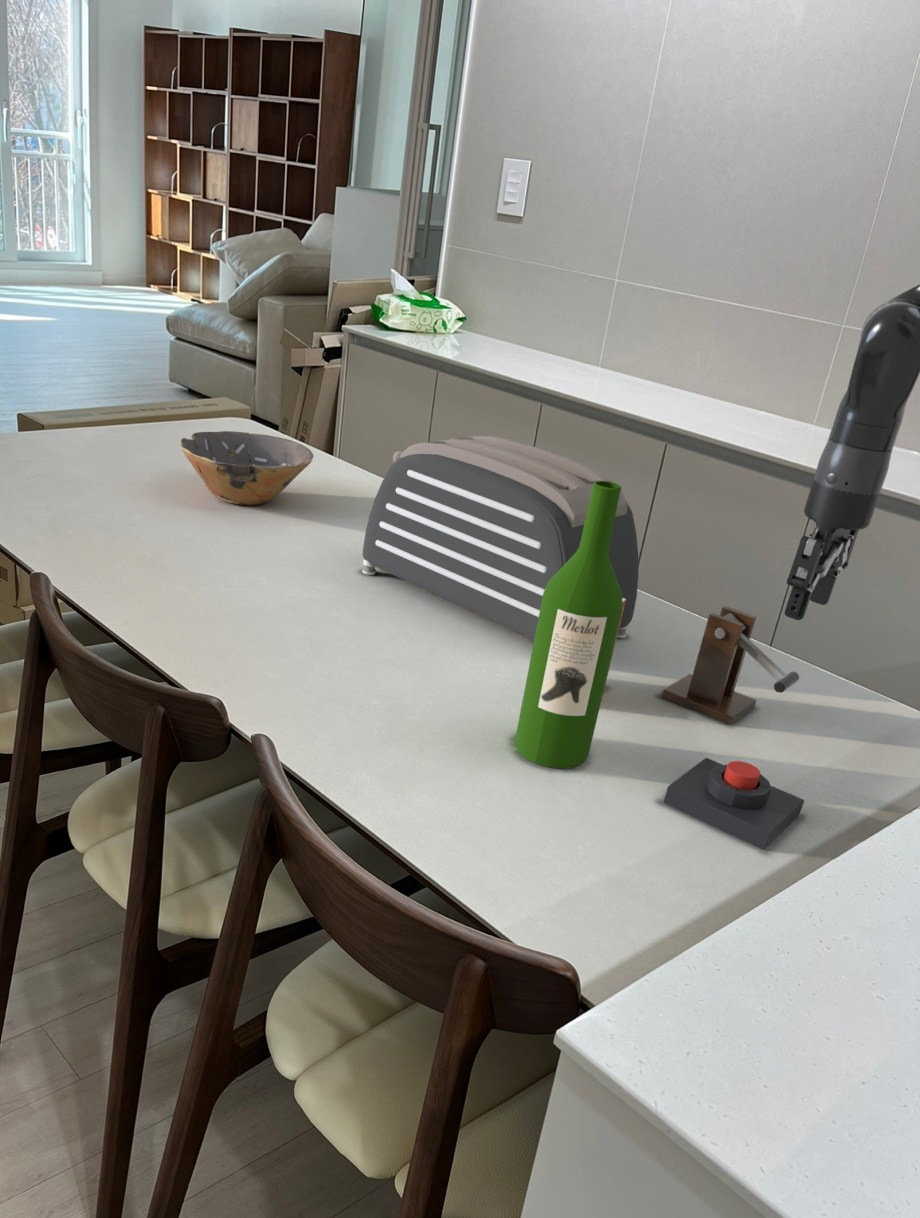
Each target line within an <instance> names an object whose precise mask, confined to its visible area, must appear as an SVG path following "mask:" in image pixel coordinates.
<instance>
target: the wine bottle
mask: <svg viewBox="0 0 920 1218" xmlns="http://www.w3.org/2000/svg"><path fill="white" fill-rule="evenodd" d="M620 491H621V492H622V486H621V485H620V484H619V483H616V482H614V481H612V482H609V481H596V482H594V483H593V489H592V493H591V497H590V502H589V506H588V511H587V515H586V520H585V524H584V529H583V533H582V537H581V542H580V546H579V548H578V550H577V552H576V553H575V554H574V555H573V556H572V557H571V558H570V559H569V560H568V562H567V563H566V564H565V565H564V566H563V567H562V568H561V569H560V570H559V571H558V572H557V573H556V574H555V575H554V576H553V577H552V578H551V579H550V580H549V582H548V584H547V586H546V588H545V591H544V593H543V598H542V603H541V608H540V613H539V618H538V623H537V629H536V634H535V639H533V645H532V650H531V655H530V660H529V666H528V670H527V676H526V679H525V680H526V681H525V687H524V692H523V696H522V701H521V706H520V707H521V708H520V712H519V715H518V716H519V717H518V722H517V727H516V732H515V737H514V745H515V749H516V751H517V752H518V753H519V754H520V755H521V756H522V757H523V758H524V759H526V760H528V761H530V762H532V763H534V764H536V765H539V766H542V767H546V768H551V769H572V768H576V767H579V766H581V765H582V764H584V763H585V762H586V760H587V759H588V757H589V755H590V751H591V746H592V743H593V738H594V734H595V729H596V726H597V721H598V716H599V712H600V708H601V703H602V699H603V695H604V692H605V687H606V685H605V683H606V684H607V681H606V678H607V679H608V676H607V674H608V675H609V672H608V670H609V671H610V668H609V666H610V667H611V664H610V661H611V662H612V660H611V657H612V658H613V656H612V653H613V654H614V652H613V648H614V649H615V647H614V644H615V645H616V643H615V640H616V641H617V639H616V636H617V631H618V627H619V623H620V618H621V614H622V610H623V609H622V591H621V589H620V586H619V583H618V581H617V578H616V576H615V573H614V571H613V568H612V565H611V563H610V560H609V556H608V550H609V545H610V540H611V535H612V530H613V525H614V520H615V515H616V510H617V505H618V500H619V495H620Z"/></svg>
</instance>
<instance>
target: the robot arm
mask: <svg viewBox="0 0 920 1218" xmlns="http://www.w3.org/2000/svg"><path fill="white" fill-rule="evenodd" d="M919 376H920V283H919V284H917V285H915V286H913V287H911V288H909V289H908V290H905V291H903V292H901V293H899V294H898V295H895V296H894V297H892V298H890V299H888V300H887V301H884V302H882V303H881V304H880V305H878V306H877V307H875V309H873V310H872V311H871V312H870V314H868V316H867V317H866V319H865V321H864V322H863V324H862V328H861V331H860V340H859V343H858V347H857V351H856V355H855V358H854V362H853V366H852V369H851V372H850V377H849V381H848V384H847V389H846V391H845V392H844V394H843V395H842V398H841V400H840V402H839V405H838V407H837V410H836V414H835V417H834V419H833V422H832V426H831V429H830V432H829V436H828V438H827V441H826V444H825V446H824V448H823V450H822V451H821V454H820V457H819V460H818V463H817V467H816V470H815V473H814V476H813V479H812V482H811V486H810V488H809V492H808V494H807V498H806V502H805V505H804V509H803V513H804V515H805V517H806V518H807V519H809V520H812V521H813V522H814V524H815V527H814V528H813V532H812V533H809V534H808V536H807V535H803V536H802V537H800V540H799V544H798V547H797V550H796V552H795V556H794V559H793V561H792V565H791V568H790V571H789V574H788V576H787V579H786V585H789V586H790V587H791V591H790V593H789V597H788V600H787V603H786V606H785V610H784V615H785V616H786V617H787V618H790V619H792V620H796V621H801V620H803V619H804V618H805V616H806V612H807V609H808V607H809V604H810V602H813V603H815V604H819V605H821V606H825V605H827V604H828V603H830V599H831V596H832V593H833V590H834V587H835V584H836V581H837V580H838V579H837V578H838V577H840V575H842V573H843V570H846V569H847V567H848V566H849V562H850V559H851V555H852V553H853V549H854V546H855V544H856V540H857V537H858V533H859V531H860V530H865V529H867V528H868V527H869V526H870V524H871V521H872V519H873V516H874V514H875V509H876V507H877V504H878V501H879V498H880V494H881V492H882V489H883V486H884V483H885V481H886V477H887V475H888V471H889V467H890V462H891V457H892V454H893V450H894V446H895V444H896V441H897V438H898V435H899V433H900V429H901V426H902V424H903V420H904V416H905V412H906V406H907V403H908V401H909V399H910V396H911V395H912V392H913V390H914V388H915V386H916V383H917V381H918V380H919V379H918V378H919ZM805 573H806V576H805V578H803V577H802V576H803V575H804V574H805Z"/></svg>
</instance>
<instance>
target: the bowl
mask: <svg viewBox="0 0 920 1218" xmlns="http://www.w3.org/2000/svg"><path fill="white" fill-rule="evenodd" d="M179 447H180V449H181V451H182V452H183V454H184V456H185V457H186V459H187V460H188V461H189V463H190V465H191V466H192V468H193V469H194V470H195V472H196V474H197V475H198V476H199V477H200V479H201V480H202V481H203V483H204V484H205V486H206V488H207V489H208V490H209V491H210V492H211V493H212V495H213V496H215V497H216V498H217V499H219V500H221V501H222V502H225V503H228V504H229V503H230V504H233V505H241V506H246V505H248V506H258V505H262V504H265V503H267V502H268V501H271V500H273V499H274V498H276V497H277V496H279V494H281V493H282V492H283V490H285V488H287V487H288V486H289V485H290V484H291V483H292V482H293V481H294V480H295V479H296V478H297V477H298V476H299V475H300V474H301V473H302V472H303V471H304V470H305V469H306V468H307V467H308V466H309V465H310V464H311V463H312V462H313V459H314V454H313V452H312V450H311V449H309V448H308V447H307V446H306V445H304V444H302V443H299V442H298V441H293V440H291V439H288V438H283V437H279V436H273V435H269V434H260V433H250V432H245V431H235V430H232V431H231V430H229V431H228V430H223V431H221V430H219V431H199V432H194V433H192V434H191V435H190V438H186V437H182V438H181V439H180V441H179Z"/></svg>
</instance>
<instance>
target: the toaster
mask: <svg viewBox="0 0 920 1218" xmlns="http://www.w3.org/2000/svg"><path fill="white" fill-rule="evenodd" d="M392 461H393V463H392V465H391V466H389V468H388V470H387V471H386V474H385V476H384V478H383V480H382V481H381V483H380V486H379V489H378V490H377V493H376V495H375V497H374V500H373V503H372V505H371V509H370V513H369V515H368V519H367V524H366V528H365V533H364V540H363V546H362V558H363V562H362V564H363V566H364V567H363V568H362V573H363V574H364V575H366V576H367V575H368V576H373V575H376V573H377V569H379V570H381V571H384V572H386V573H387V574H389V575H393V576H394V577H397V578H399V579H401V580H403V581H405V582H407V583H410V584H412V585H414V586H417V587H419V588H421V589H423V590H425V591H428V592H429V593H432V594H434V595H436V596H438V597H440V598H443V599H445V600H446V601H450V602H451V603H453V604H455V605H458V606H459V607H462V608H464V609H467V610H469V611H471V612H473V613H475V614H477V615H480V616H481V617H484V618H486V619H488V620H491V621H492V622H495V623H497V624H499V625H500V626H504V627H506V628H508V629H510V630H512V631H514V632H517V633H519V634H521V635H523V636H525V637H527V638H529V639H532V640H534V639H535V634H536V629H537V623H538V618H539V613H540V608H541V603H542V598H543V593H544V591H545V588H546V586H547V584H548V582H549V580H550V579H551V578H552V577H553V576H554V575H555V574H556V573H557V572H558V571H559V570H560V569H561V568H562V567H563V566H564V565H565V564H566V563H567V562H568V560H569V559H570V558H571V557H572V556H573V555H574V554H575V553H576V552H577V550H578V548H579V546H580V542H581V537H582V533H583V529H584V524H585V520H586V515H587V511H588V506H589V502H590V497H591V493H592V489H593V483H594V482H596V481H609V482H613V481H612V480H611V479H609V478H608V477H606V476H605V475H603V474H601V473H600V472H599V471H597V470H595V469H594V468H592V467H590V466H588V465H585V464H584V463H583V464H582V463H581V462H578V461H575V460H573V459H571V458H569V457H566V456H563V455H561V454H557V453H554V452H552V451H549V450H546V449H543V448H540V447H537V446H533V445H529V444H526V443H523V442H519V441H515V440H513V439H508V438H503V437H499V436H495V435H494V436H493V435H469V436H460V437H455V438H450V439H442V440H431V441H426V442H425V441H424V442H418V443H415V444H412V445H409V446H408V447H407V448H405V450H404V451H403V450H398V451H395V452H394V453H393V455H392ZM608 556H609V560H610V563H611V565H612V568H613V571H614V573H615V576H616V578H617V581H618V583H619V586H620V589H621V591H622V598H624V599H626V602H625V606H624V610H623V615H622V619H621V623H620V627H619V631H618V635H617V639H618V638H620V639H623V638H626V637H627V632H626V630H627V629H629V625H630V624H631V622H632V621H633V617H634V614H635V608H636V602H637V597H638V585H639V548H638V538H637V530H636V525H635V519H634V514H633V511H632V509H631V507H630V505H629V503H628V501H627V499H626V498H625V496H624V494H623V492H622V490H621V491H620V495H619V500H618V505H617V510H616V515H615V520H614V525H613V530H612V535H611V540H610V545H609V550H608ZM376 568H377V569H376Z"/></svg>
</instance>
